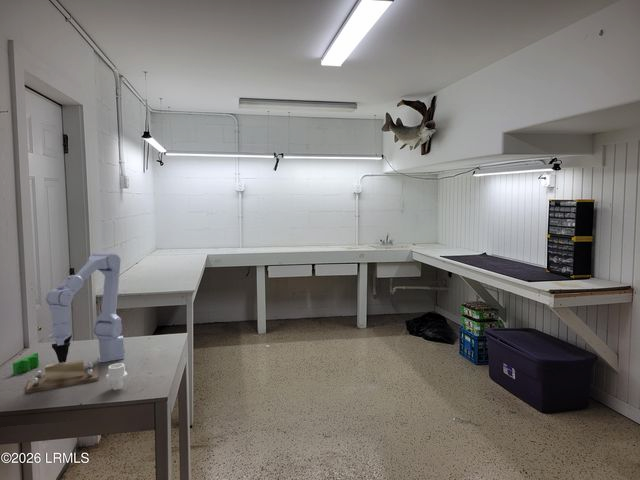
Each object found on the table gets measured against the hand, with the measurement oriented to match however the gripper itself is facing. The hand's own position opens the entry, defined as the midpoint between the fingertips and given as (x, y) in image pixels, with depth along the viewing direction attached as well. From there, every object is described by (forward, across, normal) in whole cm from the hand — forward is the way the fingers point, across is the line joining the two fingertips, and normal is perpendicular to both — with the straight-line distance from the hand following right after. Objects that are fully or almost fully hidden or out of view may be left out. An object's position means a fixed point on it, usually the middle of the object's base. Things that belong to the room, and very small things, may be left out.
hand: (63, 358), depth 158 cm
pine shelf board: (+7, 0, 0) cm, 7 cm away
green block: (+8, -19, -13) cm, 25 cm away
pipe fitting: (+8, +16, +17) cm, 25 cm away
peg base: (+8, 0, 0) cm, 8 cm away
